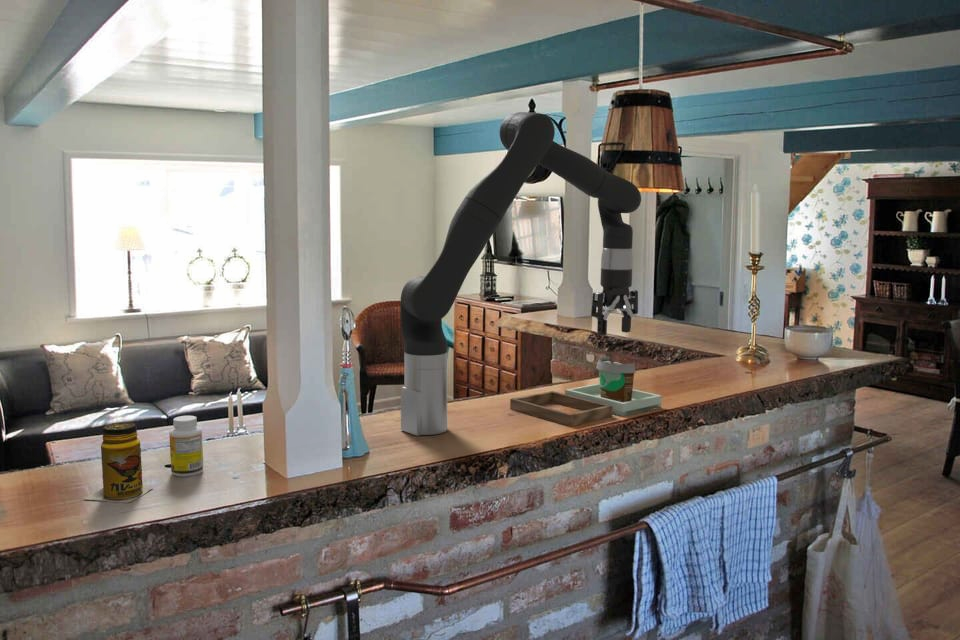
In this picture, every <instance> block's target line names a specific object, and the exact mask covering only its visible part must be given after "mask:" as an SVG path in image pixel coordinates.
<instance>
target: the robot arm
mask: <svg viewBox="0 0 960 640" xmlns="http://www.w3.org/2000/svg"><path fill="white" fill-rule="evenodd" d="M555 132H556V131H555V124H554V122H553V120H552V118H551V117H549V116H548V115H547V114H545V113H540V112H529V111H528V112H525V111H524V112H522V111H520V112H515V113H511V114H508V115H507V116H506V117H504V119H503V121H502V122H501V124H500V127H499V138H500V142H501V144H502V145H503V147H504V148H505V149H506V150H507V152H506V154H505V155H504V157H503V158H502V160H501V161H500V162H499V163H498V165H497V166H495V168H494V169H492V170H491V171H489V173H488V174H487V175H485V176H484V177H483V178H482V179H480V180H479V181H478V182H477V183H476V184H475V185H474V186H473V187H472V188H470V190H469V191H468V192H467V194H466V195H465V197H464V199H463V200H462V201H461V203H460V204H459V206H458V208H457V209H456V212H454V215H453V217H452V218H451V221H450V224H449V227H448V231H447V235H446V238H445V241H444V245H443V247H442V250H441V252H440V255H439V257H437V260H436V261H435V262H434V264H433V266H432V267H431V268H430V270H429V271H428V272H427V274H426V275H425V276H423V275H422V276H416V277H413V278H411V279H409V280H408V281H407V282H406V283H405V284H404V285H403V288H402V291H401V294H400V305H399V307H400V330H401V331H400V332H401V337H402V338H401V339H402V341H403V347H404V348H403V349H404V352H403V355H404V356H403V358H404V362H403V363H404V366H403V368H404V369H403V370H404V371H403V372H404V373H403V374H404V378H403V379H404V382H403V383H404V386H401V387H400V430H401V431H403V432H405V433H409V434H410V435H414V436H416V437H417V436H418V437H419V436H431V435H438V434H443V433H446V432H447V430H448V340H447V338H446V336H445V333H444V331H443V323H442V320H443V318H445V316H446V315H447V314H449V312H450V310H451V309H452V307H453V305H454V302H455V300H456V298H457V297H458V295H459V292H460V290H461V288H462V286H463V283H464V282H465V280H466V278H467V276H468V274H469V272H470V270H471V268H472V267H473V266H474V264H475V263H476V262H477V260H478V258H479V256H481V254H482V252H483V250H484V249H485V247H486V246H487V243H488V242H489V241H490V240H491V238H492V236H493V235H494V233H495V231H496V230H497V228H498V227H499V225H500V223H501V222H502V221H503V218H504V217H505V214H506V213H507V212H508V209H509V208H510V206H511V205H512V203H513V202H514V200H515V198H517V195H518V194H519V192H520V190H521V189H522V187H523V186H524V184H525V183H526V181H527V180H528V178H529V177H530V175H531V174H532V173H533V172H534V170H535V169H536V168H537V166H539V165H540V166H541V167H543V168H544V169H547V170H549V171H550V172H552V173H554V174H555V175H557V176H558V177H560V178H562V179H563V180H565V181H566V182H567V183H569V184H571V185H572V186H574V187H575V188H576V189H578V190H579V191H581V192H583V193H584V194H585V195H587V196H588V197H591V198H593V199H594V198H595V199H597V209H598V213H599V218H600V222H601V226H602V231H603V232H602V233H603V234H602V251H601V252H602V253H601V257H600V258H601V259H600V261H601V262H600V286H601V287H602V292H597V291H594V292H592V298H591V299H592V301H591V311H590V312H591V313H590V316H591V318H592V317H593V318H595V319H596V320H597V327H596V330H597V333H598V335H599V336H607V334H608V320H607V319H608V317H609V315H610V314H611V313H612V312H613V311H614V310H619V311H620V313H621V315H622V317H621V328H620V329H621V330H620V331H621V332H622V333H631V329H632V317H633V316H634V315H638V313H639V291H638V290H636V289H629V288H631V287H632V285H633V284H632V283H633V264H634V260H633V259H634V255H633V235H634V234H633V233H634V230H633V227H632V225H630V224H628V223H625V222H624V220H623V217H622V214H631V213H633V212H635V211H637V210H638V209H639V207H640V206H641V202H642V195H641V192H640V190H639V188H638V186H636V184H634V183H632V182H631V181H629V180H627V179H626V178H624V177H620V176H618V175H616V174H614V173H611V172H609V171H607V170H606V169H605V168H603V166H601V165H599V164H598V163H596V162H595V161H593V160H592V159H590V158H588V157H586V156H585V155H583V154H581V153H579V152H577V151H574V150H572V149H570V148H568V147H566V146H564V145H562V144H559V143H558V142H556V141H554V138H555V134H556V133H555Z"/></svg>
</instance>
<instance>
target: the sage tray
mask: <svg viewBox="0 0 960 640" xmlns="http://www.w3.org/2000/svg"><path fill="white" fill-rule="evenodd" d="M564 394H566V395H570V396H574V397H578V398H582V399H586V400H590V401H594V402H598V403H602V404H606V405H610V406H613V407H612V415H615V416H619V417H627V416H631V415H635V414H640V413H645V412H649V411H652V410H651V409H653V410H655V409H654V408H658V409H660V408H659V407H661V408H662V395H661V394H655V393H652V392H646V391H642V390H639V389H633V390H632V401H628V402H619V401H615V400H610V399H606V398H602V397H601V395H600V382H599V383H593V384H590V385H583V386H579V387H571V388H567V389H565V390H564ZM648 410H649V411H648Z"/></svg>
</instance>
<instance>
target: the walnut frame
mask: <svg viewBox="0 0 960 640" xmlns="http://www.w3.org/2000/svg"><path fill="white" fill-rule="evenodd" d="M509 401H510V402H509V403H510V405H509V407H510V408H509V410H511V411H516V412H519V413H523V414H526V415H529V416H533V417H537V418H540V419H542V420H547V421H551V422H553V423H558V424H560V425H563V426H568V427H573V426H578V425H581V424H586V423H591V422H594V421H599V420H604V419H607V418H612V417H613V414H612V407H613V406H610V405H606V404H602V403H598V402H594V401H590V400H586V399H582V398H578V397H574V396H570V395H566V394H565V393H563V392H558V391H554V390H551V391H546V392H545V391H544V392H540V393H536V394H535V393H534V394H528V395H523V396H518V397H514V398H510V399H509ZM550 403H554V404H559V405H561V406H562V405H563V406H565V407H568V408H573V409H576V410H580V411H577V412H572V413H569V412H565V411H562V410H558V409H553V408H550V407H547V406H542V405H545V404H550Z"/></svg>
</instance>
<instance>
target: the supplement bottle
mask: <svg viewBox="0 0 960 640" xmlns="http://www.w3.org/2000/svg"><path fill="white" fill-rule="evenodd" d="M172 420H173V424H172V425H173V428H171V429H170V430H169V452H170V468H171V469H170V470H171V471H170V472H171V474H172V475H174V476H175V477H180V478H181V477H182V478H184V477H185V478H189V477H193V476H196V475H199V474H201V473H202V472H203V471H204V450H203V448H204V446H203V430H202V428H201V427H200V426H198V421H197V416H196V415H195V416H194V415H181V416H176V417H174V418H173V419H172Z"/></svg>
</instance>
